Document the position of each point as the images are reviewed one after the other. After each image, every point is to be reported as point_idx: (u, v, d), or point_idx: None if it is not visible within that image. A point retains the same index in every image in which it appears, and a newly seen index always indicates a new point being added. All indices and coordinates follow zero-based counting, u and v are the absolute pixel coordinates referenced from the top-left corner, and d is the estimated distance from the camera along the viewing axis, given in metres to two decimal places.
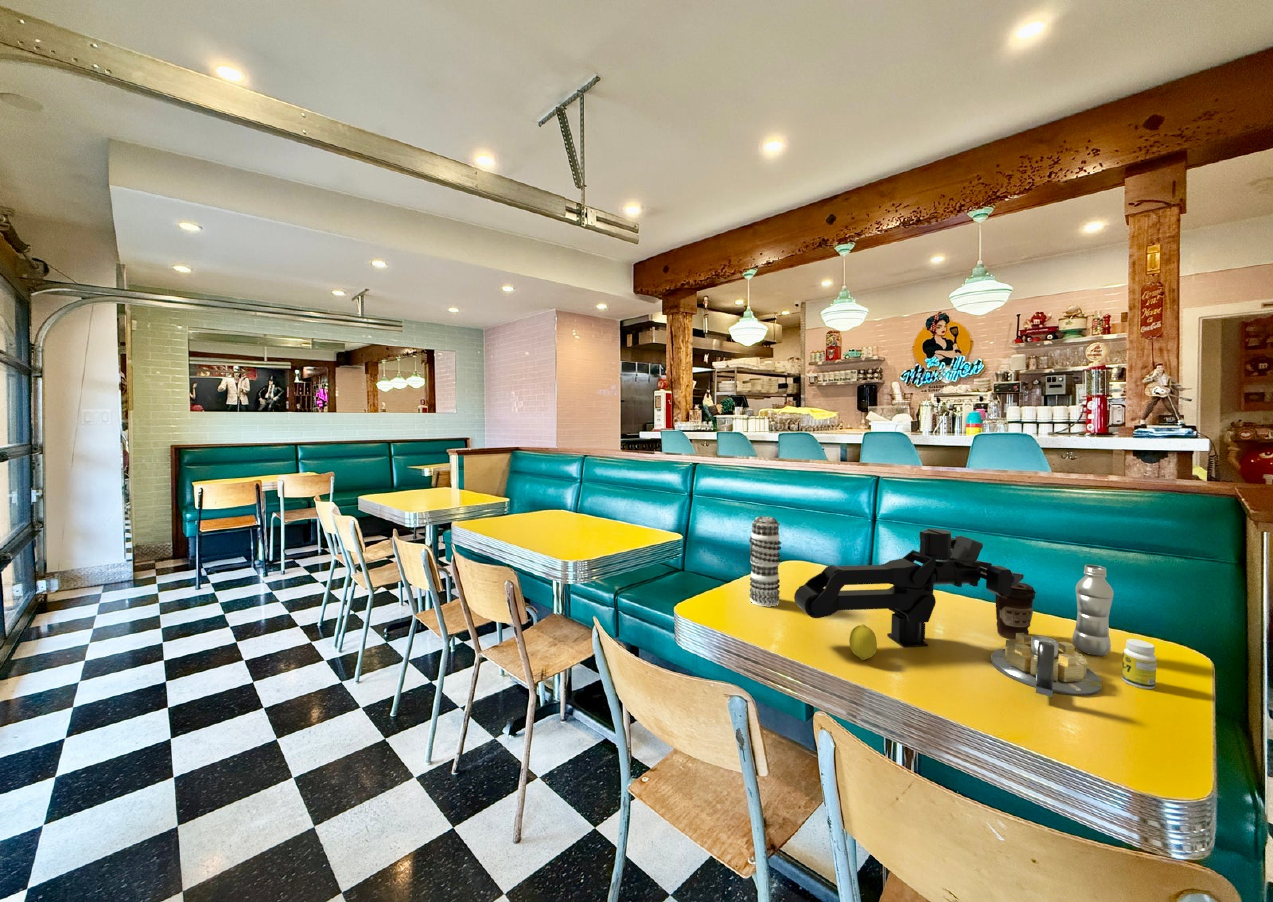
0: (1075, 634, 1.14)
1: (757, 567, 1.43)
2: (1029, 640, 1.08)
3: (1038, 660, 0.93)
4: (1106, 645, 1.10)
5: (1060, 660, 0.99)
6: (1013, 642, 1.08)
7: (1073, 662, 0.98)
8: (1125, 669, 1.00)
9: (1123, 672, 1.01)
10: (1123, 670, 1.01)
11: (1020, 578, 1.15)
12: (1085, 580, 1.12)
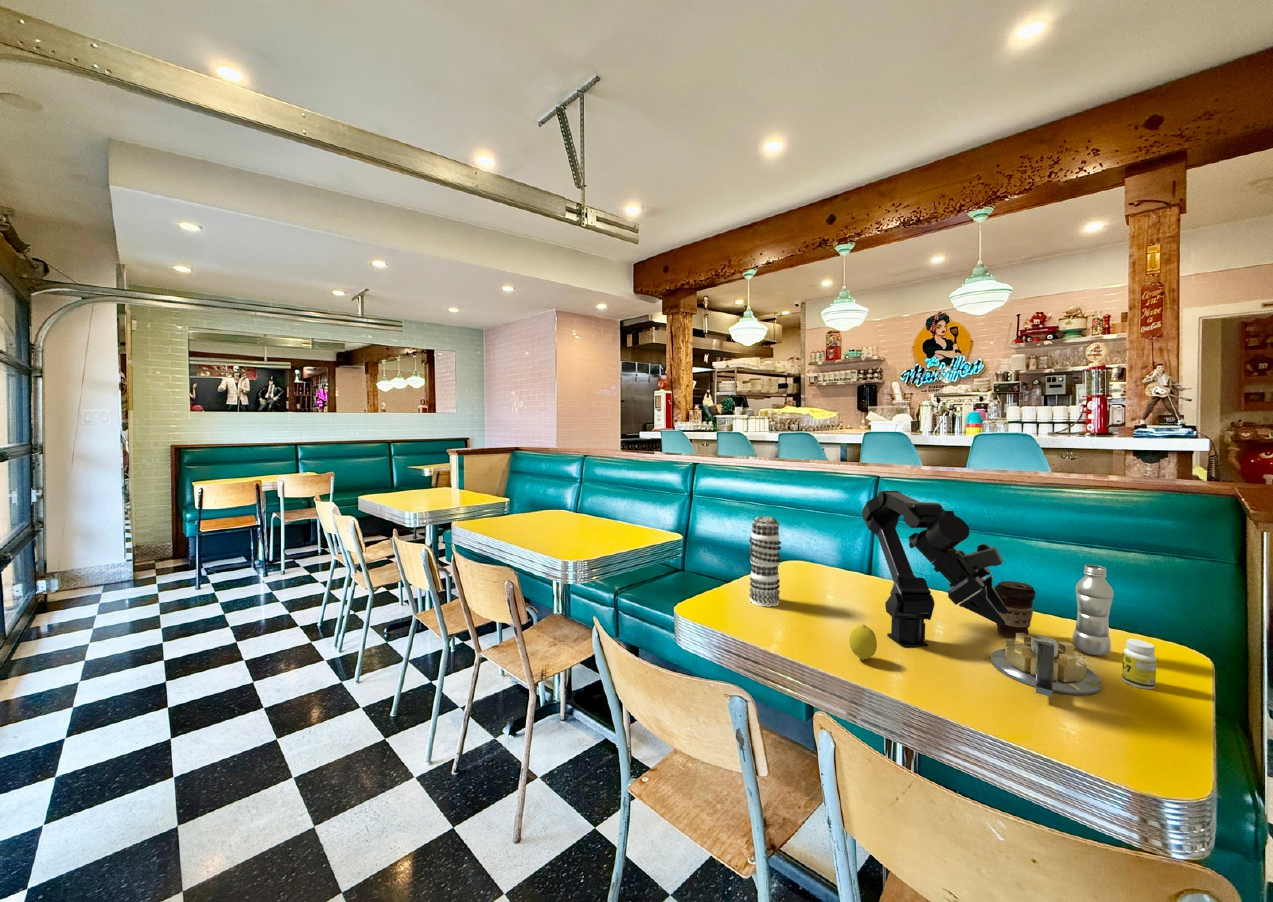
0: (1075, 634, 1.14)
1: (757, 567, 1.43)
2: (1029, 640, 1.08)
3: (1038, 660, 0.93)
4: (1106, 645, 1.10)
5: (1060, 660, 0.99)
6: (1013, 642, 1.08)
7: (1073, 662, 0.98)
8: (1125, 669, 1.00)
9: (1123, 672, 1.01)
10: (1123, 670, 1.01)
11: (996, 620, 0.96)
12: (1085, 580, 1.12)
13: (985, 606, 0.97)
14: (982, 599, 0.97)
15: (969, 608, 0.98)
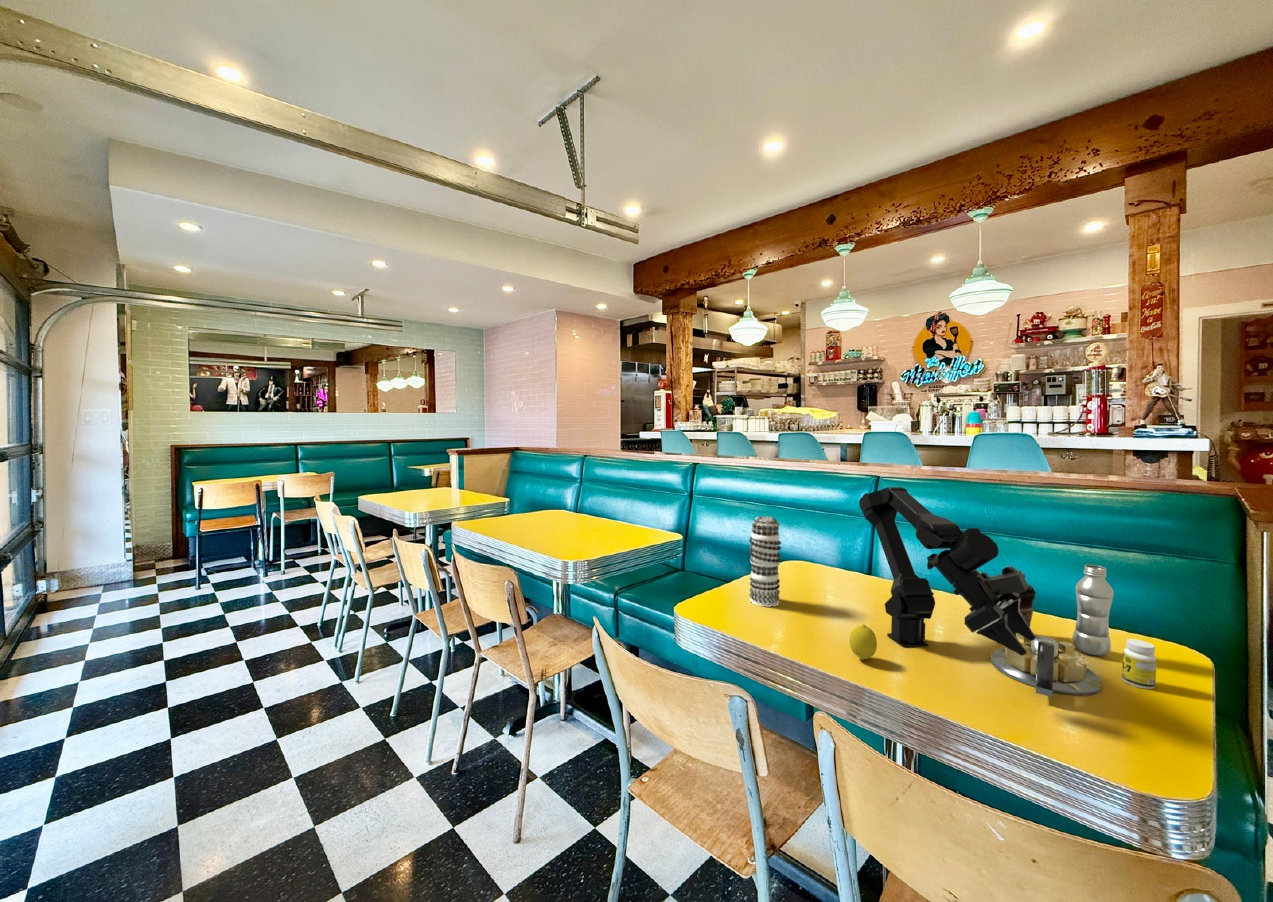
0: (1075, 634, 1.14)
1: (757, 567, 1.43)
2: (1029, 640, 1.08)
3: (1038, 660, 0.93)
4: (1106, 645, 1.10)
5: (1060, 660, 0.99)
6: None
7: (1073, 662, 0.98)
8: (1125, 669, 1.00)
9: (1123, 672, 1.01)
10: (1123, 670, 1.01)
11: (1017, 650, 0.92)
12: (1085, 580, 1.12)
13: (1005, 635, 0.92)
14: (1001, 627, 0.92)
15: (988, 636, 0.94)
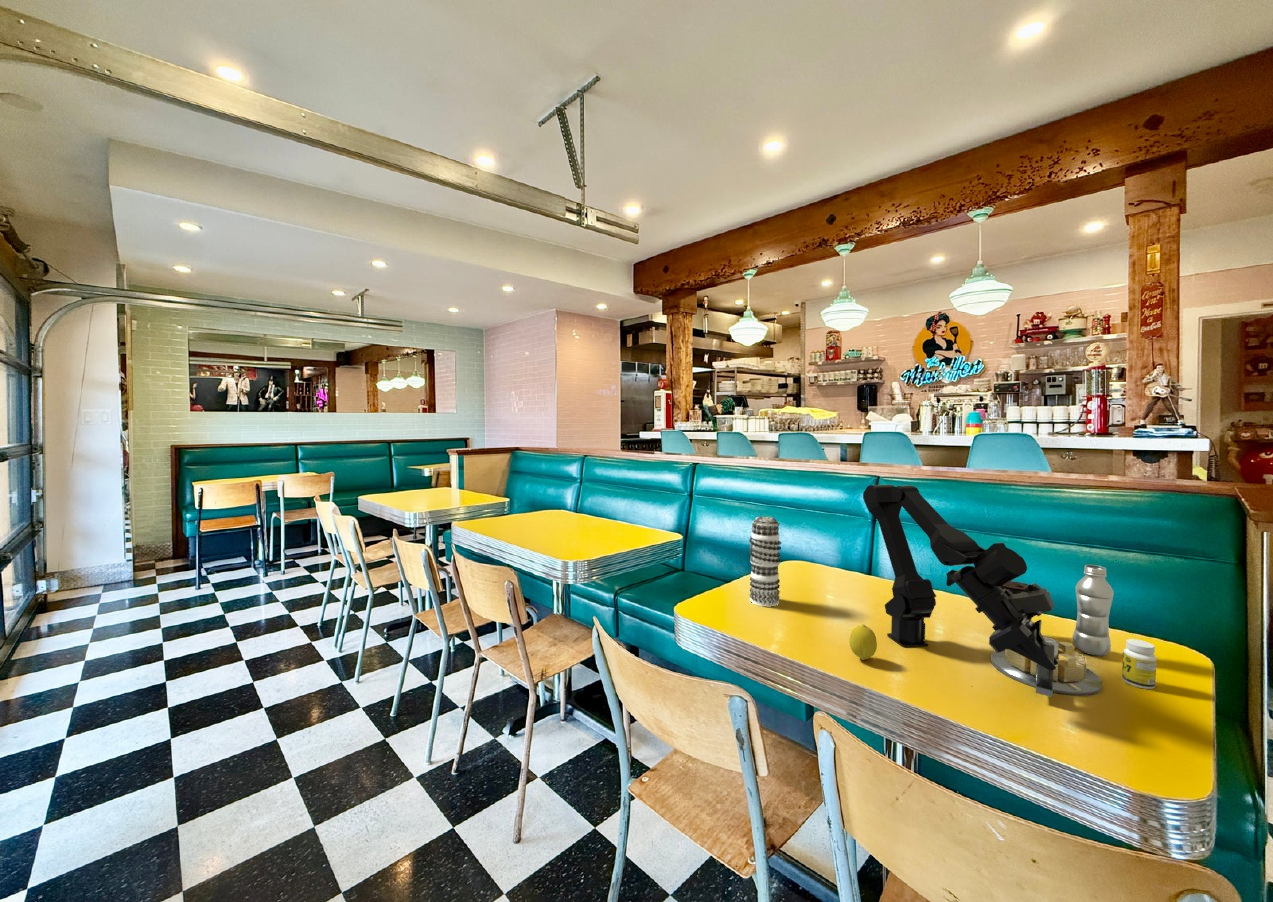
0: (1075, 634, 1.14)
1: (757, 567, 1.43)
2: None
3: None
4: (1106, 645, 1.10)
5: (1060, 660, 0.99)
6: None
7: (1073, 662, 0.98)
8: (1125, 669, 1.00)
9: (1123, 672, 1.01)
10: (1123, 670, 1.01)
11: (1046, 665, 0.91)
12: (1085, 580, 1.12)
13: (1034, 650, 0.92)
14: (1031, 643, 0.92)
15: (1016, 650, 0.93)
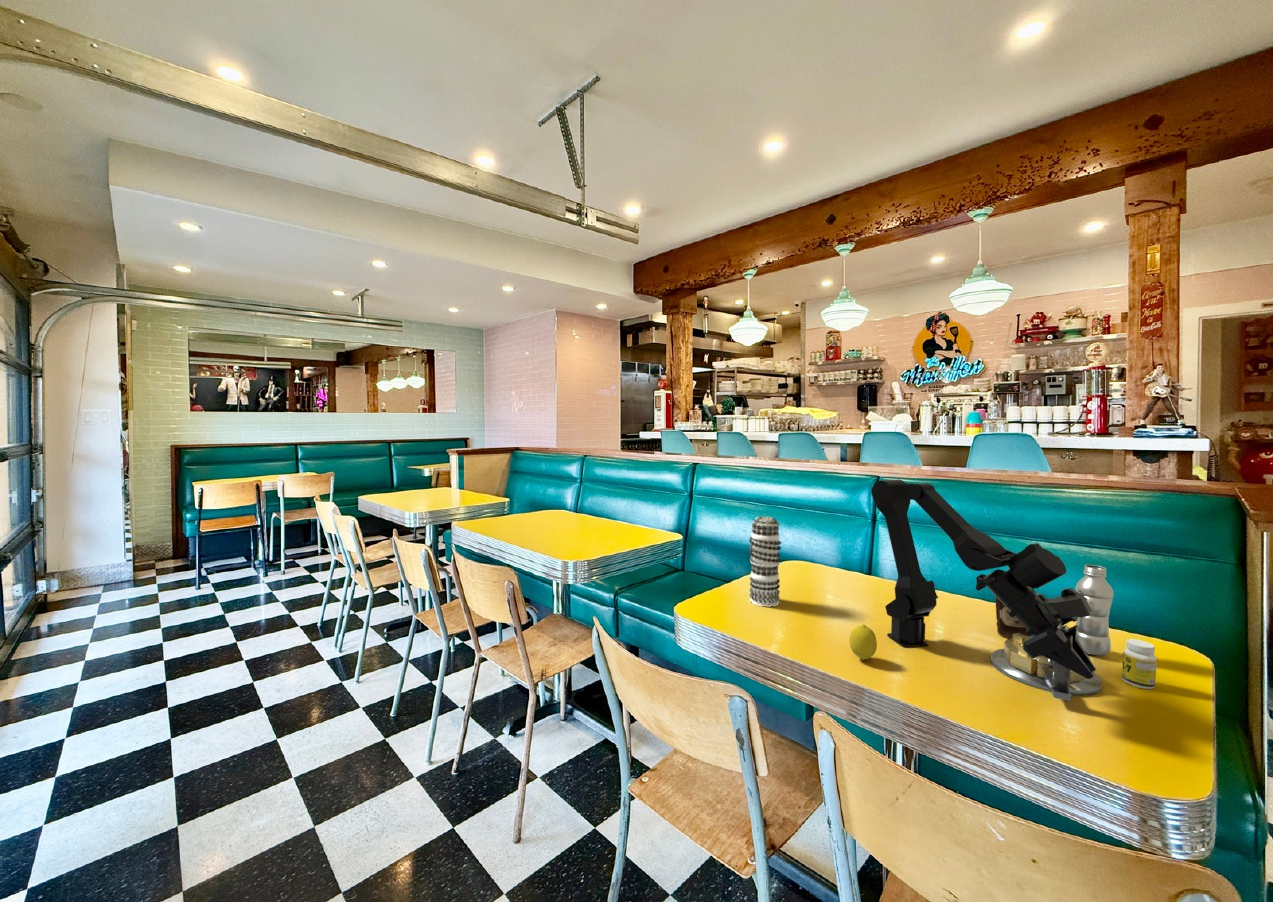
0: None
1: (757, 567, 1.43)
2: None
3: (1055, 664, 0.92)
4: (1106, 645, 1.10)
5: None
6: (1012, 643, 1.08)
7: None
8: (1125, 669, 1.00)
9: (1123, 672, 1.01)
10: (1123, 670, 1.01)
11: (1083, 673, 0.88)
12: (1085, 580, 1.12)
13: (1070, 657, 0.89)
14: (1066, 649, 0.89)
15: (1051, 657, 0.90)
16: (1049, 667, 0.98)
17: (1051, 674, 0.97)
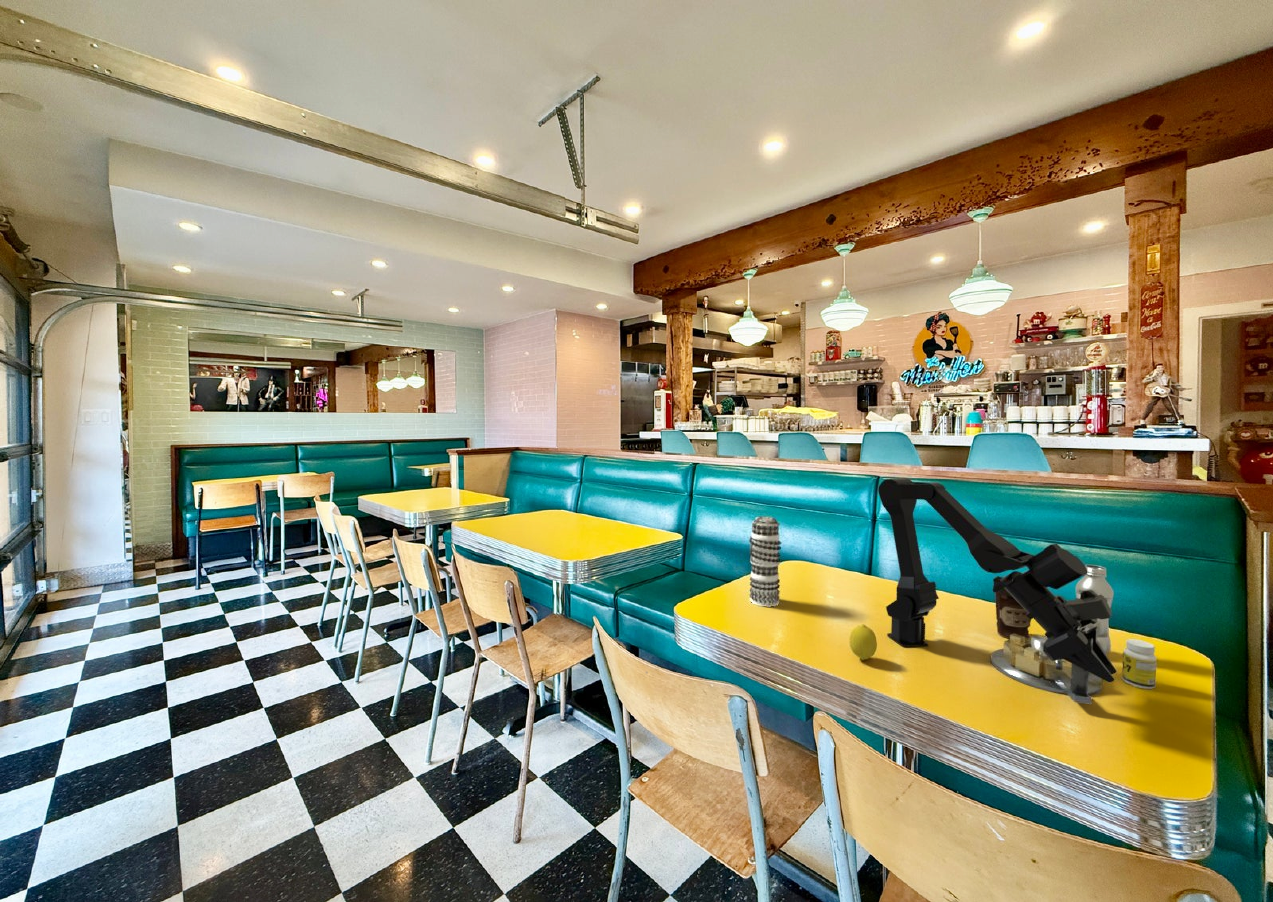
0: None
1: (757, 567, 1.43)
2: (1023, 640, 1.08)
3: (1075, 667, 0.90)
4: (1106, 645, 1.10)
5: None
6: (1012, 645, 1.07)
7: None
8: (1125, 669, 1.00)
9: (1123, 672, 1.01)
10: (1123, 670, 1.01)
11: (1103, 676, 0.87)
12: (1085, 580, 1.12)
13: (1090, 660, 0.88)
14: (1087, 652, 0.88)
15: (1071, 660, 0.89)
16: (1057, 668, 0.98)
17: (1061, 676, 0.97)
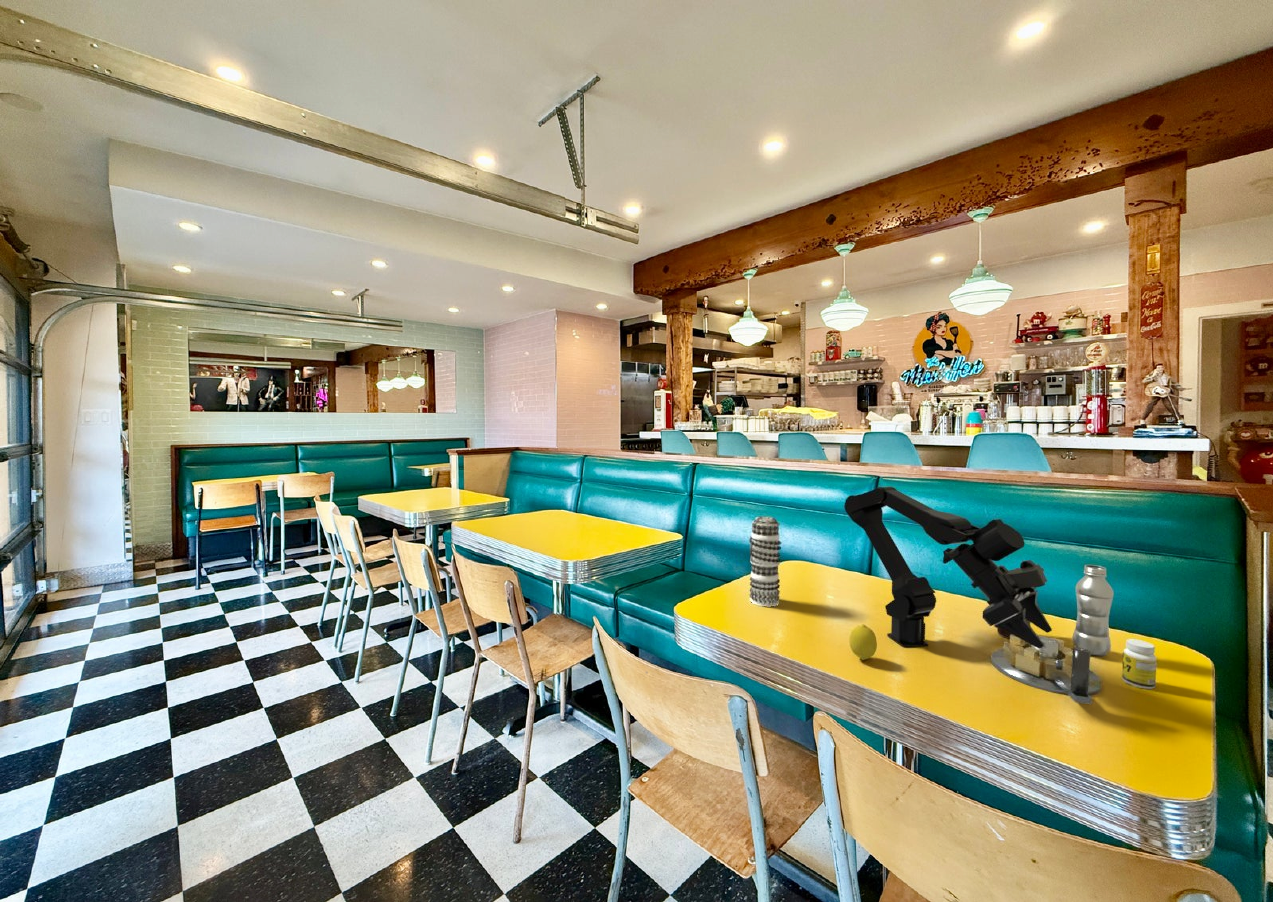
0: (1075, 634, 1.14)
1: (757, 567, 1.43)
2: (1023, 640, 1.08)
3: (1075, 668, 0.90)
4: (1106, 645, 1.10)
5: (1068, 660, 1.00)
6: (1012, 645, 1.07)
7: None
8: (1125, 669, 1.00)
9: (1123, 672, 1.01)
10: (1123, 670, 1.01)
11: (1034, 643, 0.93)
12: (1085, 580, 1.12)
13: (1022, 628, 0.94)
14: (1019, 621, 0.94)
15: (1005, 629, 0.95)
16: (1057, 668, 0.98)
17: (1061, 676, 0.97)
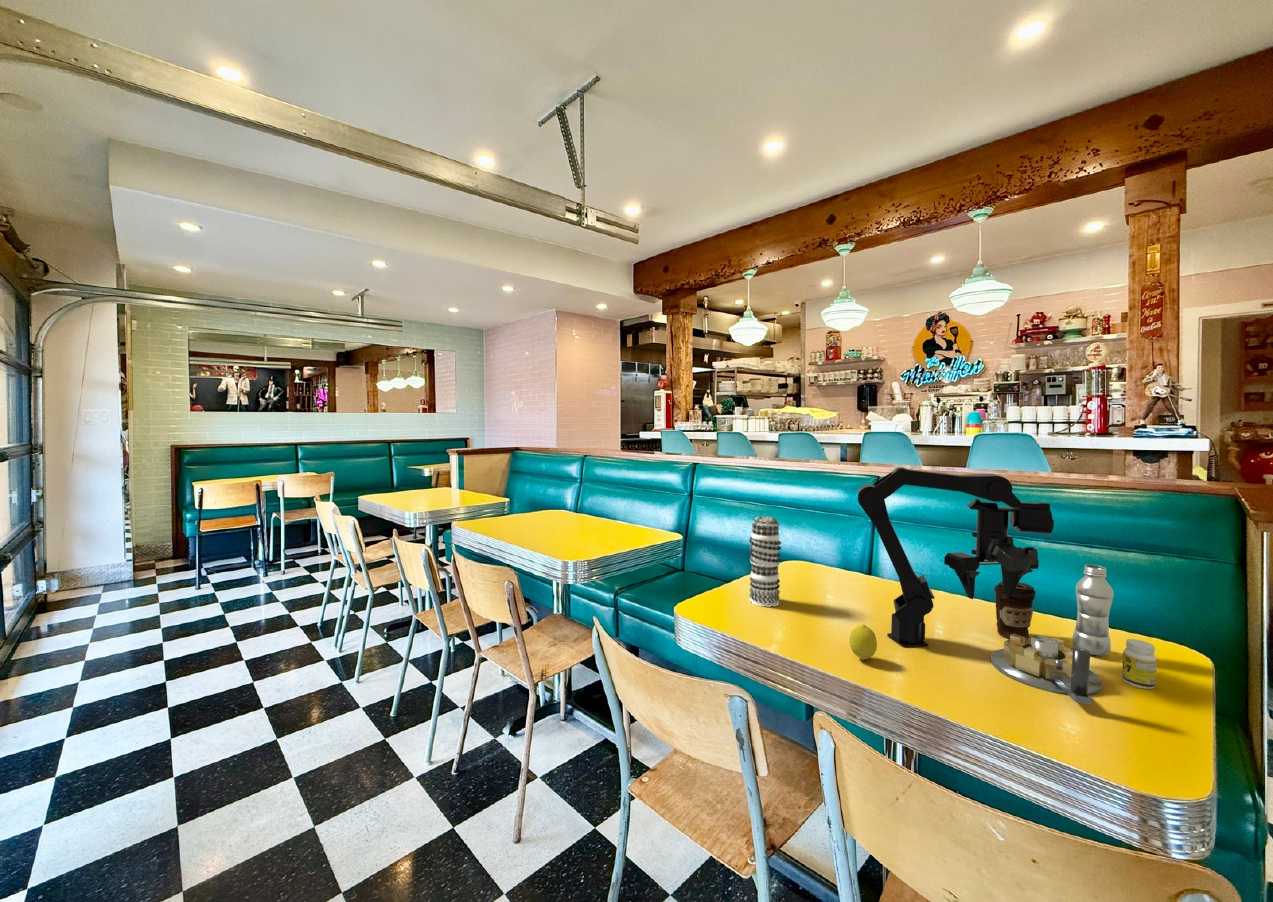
0: (1075, 634, 1.14)
1: (757, 567, 1.43)
2: (1023, 640, 1.08)
3: (1075, 668, 0.90)
4: (1106, 645, 1.10)
5: (1068, 660, 1.00)
6: (1012, 645, 1.07)
7: None
8: (1125, 669, 1.00)
9: (1123, 672, 1.01)
10: (1123, 670, 1.01)
11: (967, 593, 1.12)
12: (1085, 580, 1.12)
13: (967, 580, 1.11)
14: (967, 576, 1.10)
15: (956, 572, 1.13)
16: (1057, 668, 0.98)
17: (1061, 676, 0.97)
